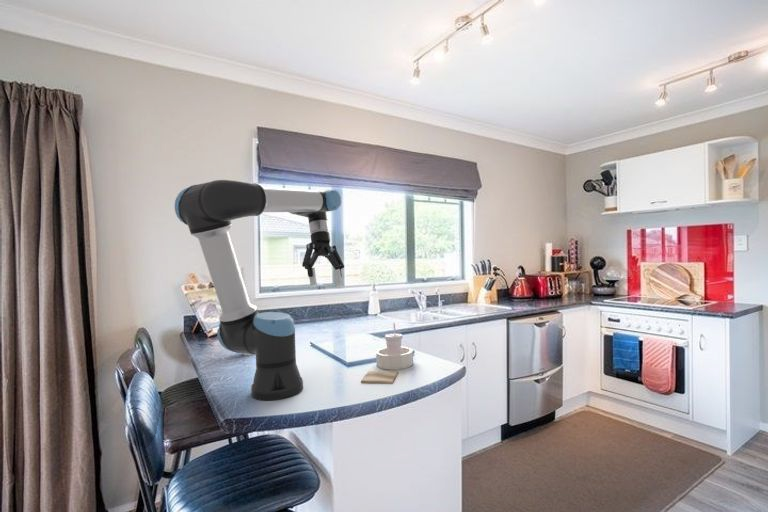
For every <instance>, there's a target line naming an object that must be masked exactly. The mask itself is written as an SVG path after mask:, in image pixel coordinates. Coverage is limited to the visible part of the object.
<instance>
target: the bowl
mask: <svg viewBox="0 0 768 512" xmlns="http://www.w3.org/2000/svg"><path fill="white" fill-rule="evenodd" d="M375 354H376V355H375V358H376V366H377V368H379V369H382V370H385V371H386V370H387V371H396V370H403V369H407V368H410V367H413V364H414V355H413V354H414V351H413V349H412V348H411V347H407V346H401V353H400V355H388V349H387V346H386V347H382V348H379V349H377V350H375Z"/></svg>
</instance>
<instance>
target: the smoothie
mask: <svg viewBox="0 0 768 512" xmlns="http://www.w3.org/2000/svg"><path fill="white" fill-rule="evenodd" d="M384 339H385V342H386V347H387V349H388V355H400V353H401V347H402V339H403V334H401V333H396V323H395V322H394V323H393V333H387V334H384Z"/></svg>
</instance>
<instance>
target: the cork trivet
mask: <svg viewBox="0 0 768 512" xmlns="http://www.w3.org/2000/svg"><path fill="white" fill-rule="evenodd" d="M398 374H399V371H396V370H387V371H386V370H382V371H381V370H368V372H366V374H365V375H364V377H362V379H361V380H360V383H361V384H390V385H391V384H394V382H395V380H396V377H397V376H398Z"/></svg>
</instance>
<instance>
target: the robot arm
mask: <svg viewBox="0 0 768 512" xmlns="http://www.w3.org/2000/svg"><path fill="white" fill-rule="evenodd" d="M341 206H342V196H341V194H340V193H339V191H337V190H336V189H327V190H315V189H299V188H282V187H269V186H268V187H267V186H262V184H260V183H258V182H248V181H239V180H238V181H237V180H229V179H216V180H215V179H214V180H212V181H207V182H204V183H198V184H193V185H190V186H188V187H186V188H184V189H181V191H180V192H179V193H178V194H177V196H176V198H175V201H174V211H175V214H176V217H177V219H179V221H180V222H182V223H183V224H184V225H187V227H188V229H189V233H190V235H191V236H193V237H195V238H197V239H198V241H199V245H200V247H201V250H202V254H203V257H204V261H205V263H206V267H207V269H208V272H209V275H210V278H211V281H212V284H213V288H214V291H215V293H216V296H217V300H218V302H219V306H220V309H221V313H220V316H219V318H218V320H219V324H218V328H217V331H216V332H217V333H216V334H217V339H218V342H219V343H220V345H221V347H223V348H224V349H225V350H227V351H230V352H232V353H236V354H243V353H247V354H254V355H255V368H256V369H255V373H254V375H253V381H252V384H251V386H250V387H251V388H250V390H251V391H250V392H251V393H250V396H251V397H252V398H253V399H255V398H256V400H259V399H260V400H259V401H276V400H281V399H286V398H289V397H292V396H296V395H297V394H300V393H301V392H302V391H303V389H304V381H303V378H302V377H301V374H300V370H299V367H298V365H297V355H296V353H297V352H296V333H295V332H296V327H295V321H294V318H293V316H292V315H290V314H289V313H285V312H280V311H275V312H274V311H266V312H264V311H263V312H259V310H258V306H257V305H255V304H253V303H251V300H250V298H249V295H248V291H247V288H246V285H245V281H244V279H243V278H244V277H243V276H242V272H241V268H240V266H239V265H240V264H239V261H238V259H237V256H236V252H235V248H234V246H233V242H232V240H231V236H230V234H229V233H230V231H229V230H230V228H231V227H232V225H233V224H232V221H233V220H236V219H238V220H239V219H241V218H246V217H257V216H260V215H262V214H263V213H289V214H291V215H297V216H300V217H303V218H307V219H308V225H309V232H310V242H309V243H307V244H306V245H305V246H306V250H305V252H304V253H305V254H304V257H303V260H302V264H301V266H302V267H303V268H304V269H305V270H307V277H308V278H309V285H310V287H314V286H317V284H318V283H317V276H316V268H315V267H314V265H315V263H316V261H317V259H318V258H319V257H325V259H326V260H328V262H329V263H330V264H331V266H332V267H333V268H334V270H333V273H334V280H335V281H334V282H335V287H340V286H343V281H342V277H343V275H342V269H344V268H345V265H344V263H343V261H342V259H341V257H340V254H339V253H338V250H337V246H336V245H332V246H331V245H330V243H331V235H330V234H331V233H330V227H329V221H328V214H327V212H328V213H329V212H334V211H337V210H339V209H340V208H341ZM254 355H253V356H254Z"/></svg>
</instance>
